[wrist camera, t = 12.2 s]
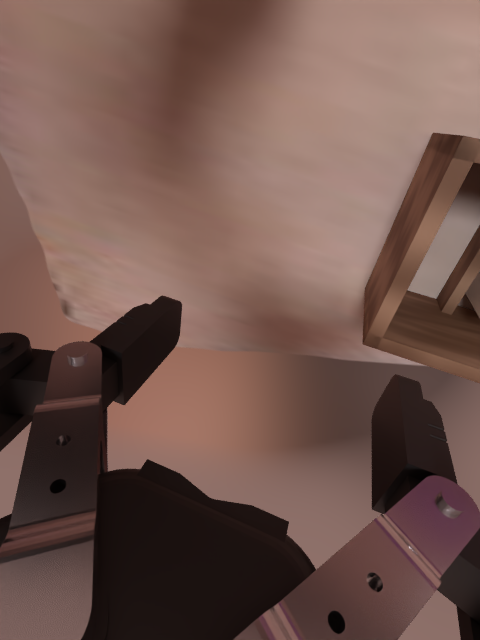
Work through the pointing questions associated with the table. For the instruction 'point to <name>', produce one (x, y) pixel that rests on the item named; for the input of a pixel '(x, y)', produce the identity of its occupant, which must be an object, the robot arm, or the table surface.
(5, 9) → the table surface
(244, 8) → the table surface
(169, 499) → the robot arm
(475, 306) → the door
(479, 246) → the cabinet
